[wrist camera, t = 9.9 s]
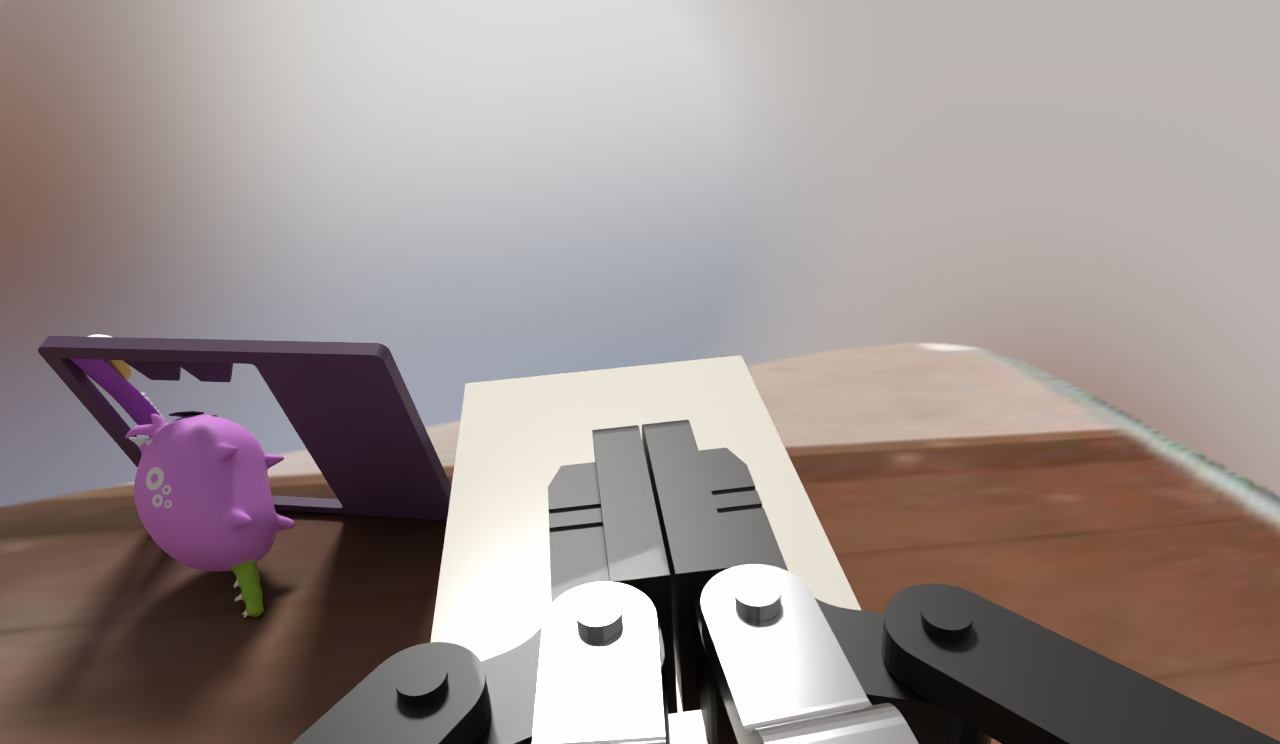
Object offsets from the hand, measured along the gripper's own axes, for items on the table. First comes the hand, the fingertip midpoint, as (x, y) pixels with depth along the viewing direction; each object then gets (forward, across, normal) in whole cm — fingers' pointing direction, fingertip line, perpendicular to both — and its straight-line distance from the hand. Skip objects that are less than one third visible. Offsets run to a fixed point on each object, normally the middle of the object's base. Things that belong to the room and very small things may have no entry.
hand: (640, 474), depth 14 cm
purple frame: (+8, +9, +7) cm, 15 cm away
